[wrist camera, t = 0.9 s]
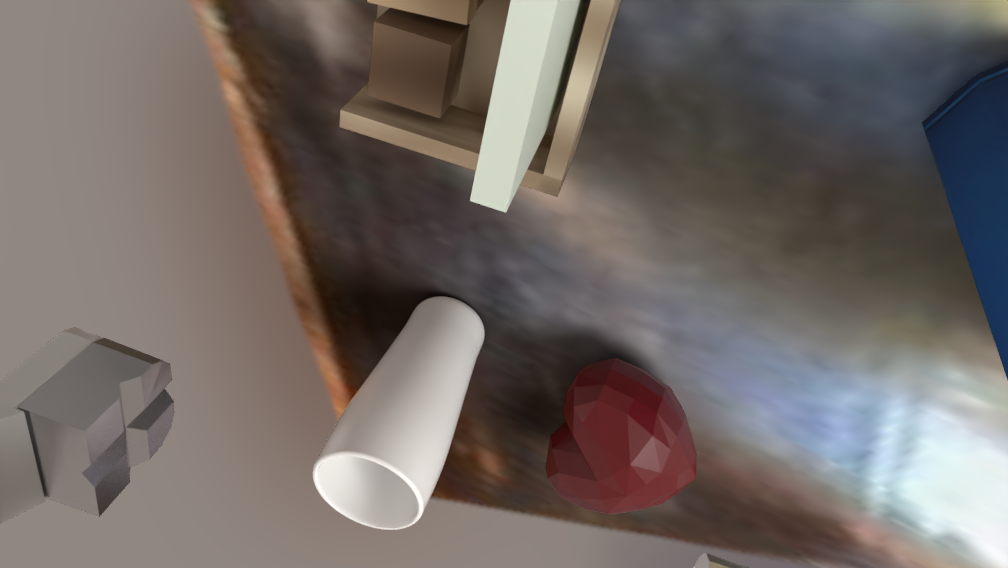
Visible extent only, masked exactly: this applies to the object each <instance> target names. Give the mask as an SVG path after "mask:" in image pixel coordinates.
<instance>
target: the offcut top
mask: <svg viewBox="0 0 1008 568" xmlns="http://www.w3.org/2000/svg"><path fill="white" fill-rule="evenodd" d="M367 2H369V3H373V4H377V5H382V6H386V7H390V8H395V9H399V10H403V11H408V12H412V13H416V14H421V15H425V16H429V17H433V18H438V19H442V20H446V21H451V22H455V23H459V24H464V25H467V24H468V23H469V22H470V21H471V20H472V19H473V17H474V16H475V15H476V9H477V0H367Z"/></svg>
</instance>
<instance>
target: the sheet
mask: <svg viewBox="0 0 1008 568" xmlns="http://www.w3.org/2000/svg"><path fill="white" fill-rule="evenodd" d="M586 3H587V0H511V1H510V6H509V11H508V16H507V21H506V26H505V31H504V36H503V41H502V46H501V50H500V55H499V60H498V65H497V70H496V75H495V80H494V85H493V90H492V95H491V100H490V104H489V109H488V114H487V119H486V124H485V129H484V134H483V139H482V144H481V149H480V154H479V159H478V163H477V168H476V173H475V178H474V183H473V188H472V193H471V198H470V201H472V202H475V203H478V204H481V205H484V206H487V207H490V208H493V209H496V210H499V211H503V212H506V211H507V209H508V207H509V205H510V203H511V201H512V199H513V197H514V195H515V193H516V191H517V189H518V187H519V185H520V183H521V181H522V179H523V177H524V175H525V173H526V171H527V169H528V167H529V165H530V163H531V160H532V158H533V156H534V154H535V152H536V150H537V148H538V146H539V144H540V142H541V140H542V138H543V136H544V134H545V132H546V130H547V128H548V126H549V124H550V122H551V120H552V118H553V116H554V114H555V112H556V110H557V108H558V106H559V103H560V100H561V96H562V92H563V89H564V85H565V81H566V78H567V74H568V70H569V66H570V63H571V59H572V55H573V52H574V48H575V44H576V41H577V37H578V33H579V29H580V26H581V22H582V18H583V15H584V11H585V7H586Z"/></svg>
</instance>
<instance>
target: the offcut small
mask: <svg viewBox="0 0 1008 568" xmlns="http://www.w3.org/2000/svg"><path fill="white" fill-rule="evenodd" d="M469 26H470V24H467V25H464V24H459V23H455V22H451V21H446V20H442V19H438V18H433V17H429V16H425V15H421V14H416V13H412V12H408V11H403V10H399V9H395V8H389V9H388V10H387V11H385V12H384V13H383V14H382V15H381V16H380V17H378V18H377V19H376V20H375V21H374V26H373V37H372V48H371V60H370V71H369V83H368V94H367V96H371V97H374V98H377V99H380V100H383V101H386V102H389V103H393V104H396V105H399V106H402V107H405V108H408V109H412V110H415V111H418V112H421V113H424V114H427V115H430V116H434V117H437V118H441V116H442V115H443V114H444V112H445V111H446V110H447V108H448V107H449V106H450V104H451V103H452V102H453V100H454V99H455V98H456V96H457V95H458V90H459V84H460V78H461V72H462V67H463V61H464V55H465V49H466V43H467V38H468V32H469Z"/></svg>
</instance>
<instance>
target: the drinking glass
mask: <svg viewBox="0 0 1008 568" xmlns="http://www.w3.org/2000/svg"><path fill="white" fill-rule="evenodd" d="M484 337H485V331H484V326H483V323H482V321H481V319H480V317H479V316H478V314H477V313H476V312H475V311H474V310H473V309H472V308H471V307H470V306H468V305H467V304H465V303H464V302H462V301H460V300H457V299H454V298H451V297H444V296H437V297H432V298H428V299H426V300H424V301H422V302H421V303H420V304H419V305H418V306H417V307H416V308H415V309H414V311H413V313H412V314H411V316H410V318H409V320H408V321H407V323H406V325H405V326H404V328H403V329H402V330H401V332H400V333H399V335H398V336H397V338H396V339H395V340H394V342H393V343H392V345H391V346H390V347H389V349H388V350H387V352H386V353H385V354H384V356H383V357H382V358H381V360H380V361H379V363H378V364H377V365H376V367H375V368H374V370H373V371H372V372H371V374H370V375H369V376H368V378H367V379H366V381H365V382H364V383H363V385H362V386H361V387H360V389H359V390H358V391H357V393H356V394H355V396H354V397H353V399H352V400H351V401H350V403H349V404H348V406H347V407H346V409H345V410H344V412H343V413H342V415H341V417H340V418H339V420H338V421H337V423H336V425H335V426H334V428H333V430H332V432H331V433H330V435H329V437H328V439H327V441H326V443H325V445H324V446H323V448H322V450H321V452H320V454H319V457H318V459H317V460H316V462H315V465H314V467H313V473H312V474H313V481H314V484H315V486H316V488H317V490H318V492H319V493H320V495H321V496H322V497H323V498H324V500H325V501H326V502H327V503H328V504H329V505H331V506H332V507H333V508H334V509H335V510H337V511H338V512H339V513H341V514H342V515H344V516H346V517H348V518H349V519H351V520H353V521H356V522H358V523H360V524H363V525H366V526H370V527H373V528H378V529H386V530H387V529H388V530H395V529H402V528H406V527H408V526H411V525H413V524H414V523H416V522H417V521H418V520H419V519H420V517H421V516H422V513H423V511H424V509H425V507H426V505H427V503H428V501H429V499H430V497H431V495H432V492H433V490H434V488H435V486H436V483H437V481H438V479H439V476H440V474H441V471H442V469H443V466H444V463H445V461H446V458H447V455H448V452H449V449H450V445H451V442H452V439H453V436H454V432H455V429H456V425H457V422H458V419H459V415H460V412H461V408H462V405H463V402H464V398H465V395H466V392H467V388H468V385H469V382H470V378H471V375H472V372H473V369H474V366H475V362H476V359H477V357H478V354H479V352H480V350H481V347H482V345H483V342H484Z"/></svg>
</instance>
